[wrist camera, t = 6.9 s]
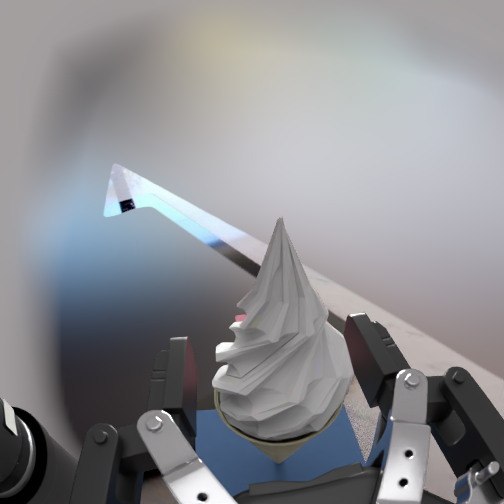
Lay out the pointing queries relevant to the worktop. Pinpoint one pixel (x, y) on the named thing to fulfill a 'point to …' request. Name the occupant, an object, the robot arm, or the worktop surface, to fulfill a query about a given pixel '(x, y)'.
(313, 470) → the blue mat
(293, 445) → the ice cream cone
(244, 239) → the worktop surface
